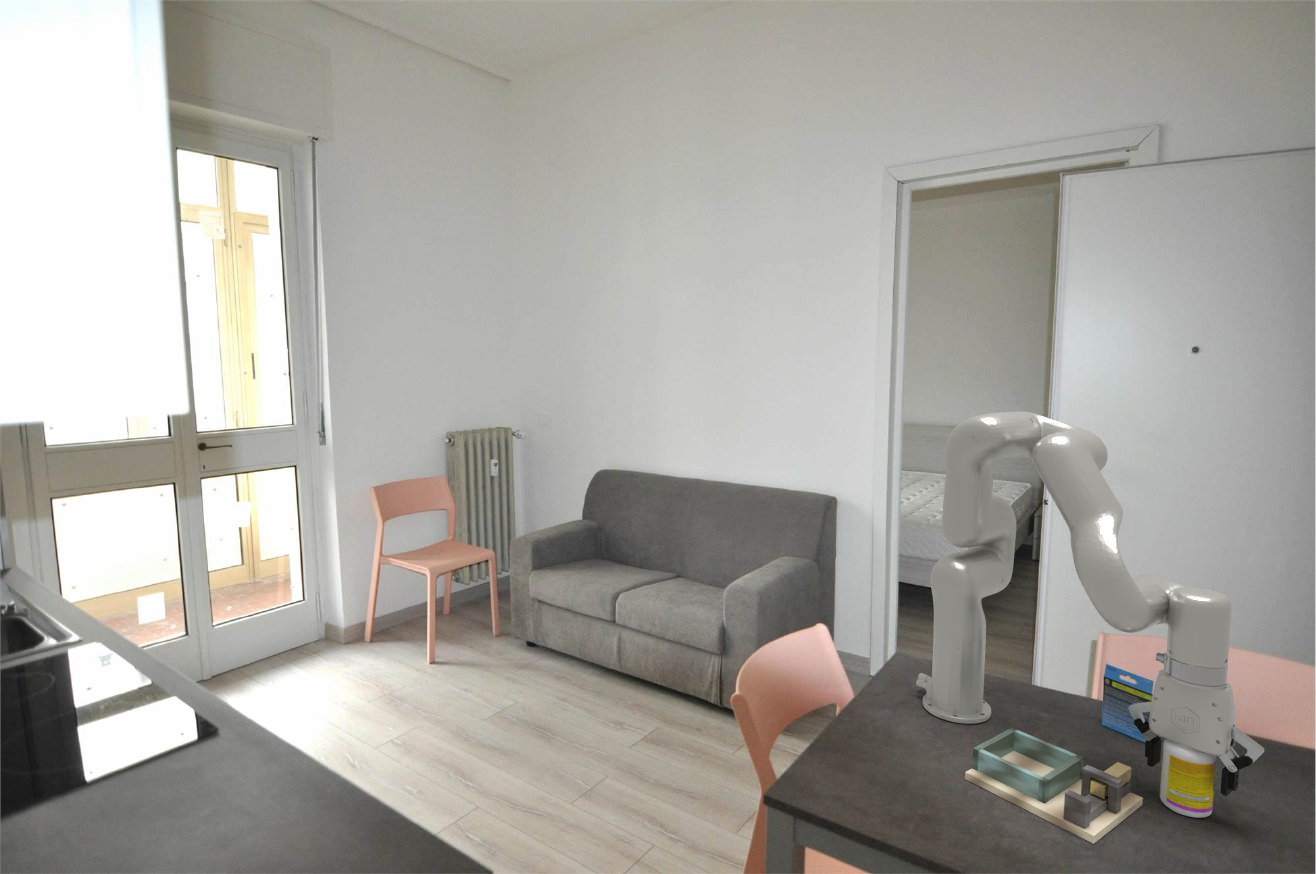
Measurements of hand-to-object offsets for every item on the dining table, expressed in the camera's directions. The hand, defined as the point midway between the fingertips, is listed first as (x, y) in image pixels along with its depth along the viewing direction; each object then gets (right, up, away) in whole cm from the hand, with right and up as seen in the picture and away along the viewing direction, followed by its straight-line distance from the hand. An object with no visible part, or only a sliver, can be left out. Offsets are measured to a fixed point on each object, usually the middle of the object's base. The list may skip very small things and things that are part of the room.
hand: (1189, 777), depth 112 cm
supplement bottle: (0, -5, +1) cm, 5 cm away
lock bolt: (-12, -2, +1) cm, 12 cm away
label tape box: (+6, -3, +23) cm, 24 cm away
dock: (-19, -4, +5) cm, 20 cm away
